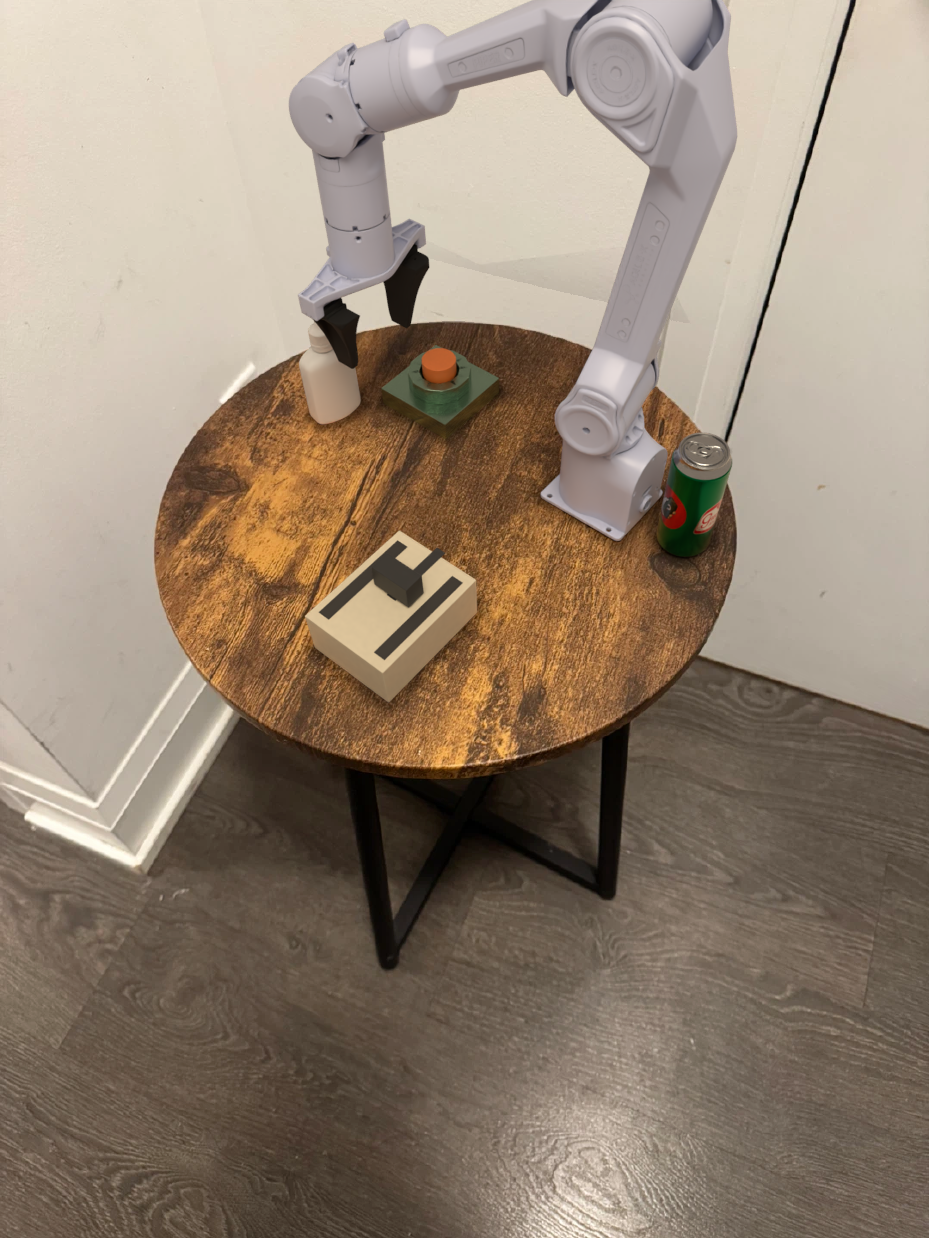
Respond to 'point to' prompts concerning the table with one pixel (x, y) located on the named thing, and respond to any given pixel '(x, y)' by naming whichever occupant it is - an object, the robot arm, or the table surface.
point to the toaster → (392, 618)
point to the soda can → (693, 494)
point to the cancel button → (439, 365)
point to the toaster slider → (397, 580)
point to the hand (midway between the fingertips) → (375, 342)
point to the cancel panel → (441, 395)
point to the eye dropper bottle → (327, 381)
